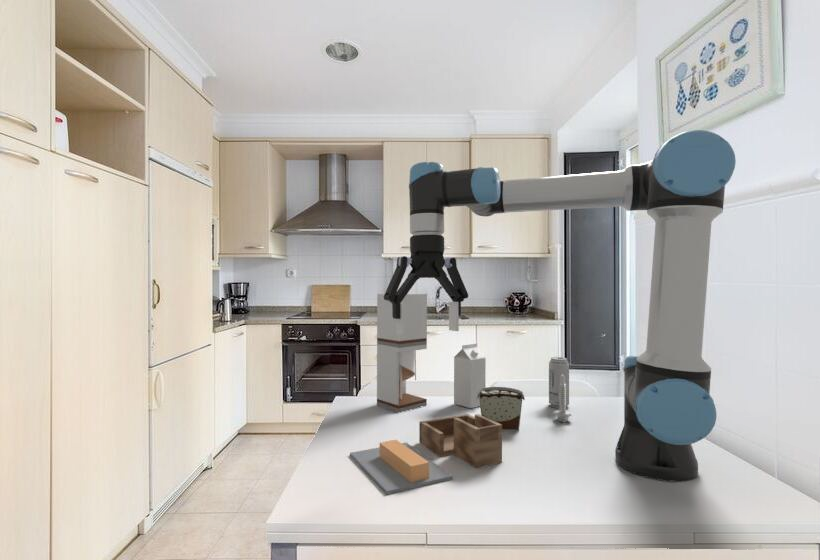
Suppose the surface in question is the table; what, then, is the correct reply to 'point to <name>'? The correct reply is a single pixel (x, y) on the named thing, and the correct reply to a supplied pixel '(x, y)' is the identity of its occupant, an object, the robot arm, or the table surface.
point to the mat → (395, 471)
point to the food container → (502, 406)
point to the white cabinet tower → (399, 351)
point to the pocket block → (464, 438)
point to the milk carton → (469, 375)
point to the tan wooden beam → (404, 460)
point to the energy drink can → (558, 380)
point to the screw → (562, 402)
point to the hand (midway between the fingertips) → (428, 332)
